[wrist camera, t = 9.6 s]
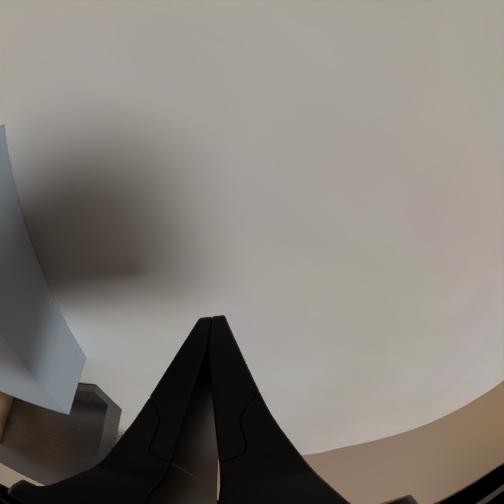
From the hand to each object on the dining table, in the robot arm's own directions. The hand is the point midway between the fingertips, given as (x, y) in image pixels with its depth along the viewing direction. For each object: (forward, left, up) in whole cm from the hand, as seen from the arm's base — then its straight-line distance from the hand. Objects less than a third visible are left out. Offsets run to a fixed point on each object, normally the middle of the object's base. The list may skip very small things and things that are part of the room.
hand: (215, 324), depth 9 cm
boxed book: (+2, +13, -3) cm, 14 cm away
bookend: (-12, +17, -3) cm, 21 cm away
